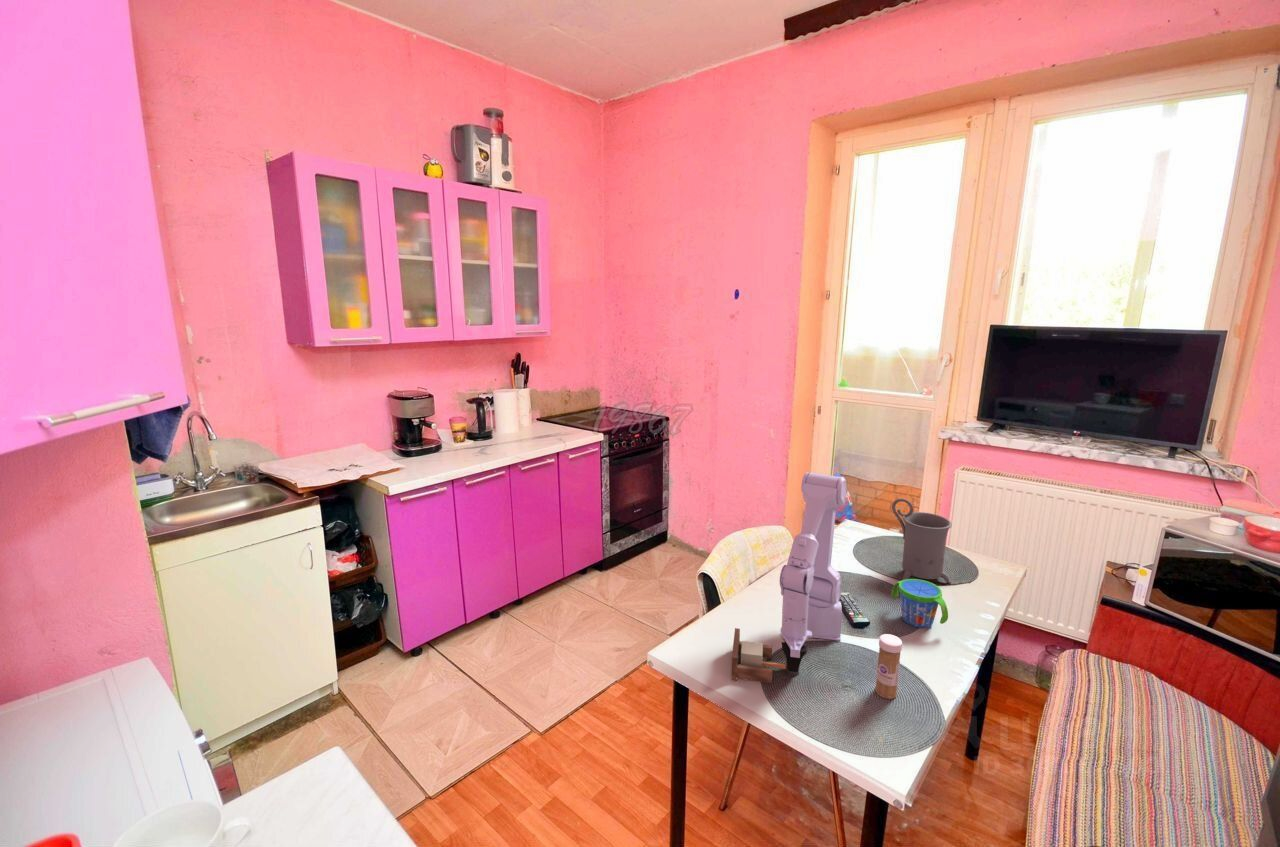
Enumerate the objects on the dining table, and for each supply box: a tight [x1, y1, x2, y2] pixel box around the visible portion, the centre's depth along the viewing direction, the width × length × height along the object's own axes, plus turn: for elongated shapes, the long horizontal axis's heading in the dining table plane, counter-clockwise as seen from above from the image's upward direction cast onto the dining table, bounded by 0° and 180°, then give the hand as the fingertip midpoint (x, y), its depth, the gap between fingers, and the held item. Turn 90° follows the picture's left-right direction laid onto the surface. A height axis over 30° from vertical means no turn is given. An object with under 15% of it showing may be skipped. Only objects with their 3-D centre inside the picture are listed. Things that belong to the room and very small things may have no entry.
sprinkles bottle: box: [874, 633, 903, 700], centre depth 119 cm, size 5×5×13 cm
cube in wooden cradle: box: [730, 627, 773, 684], centre depth 130 cm, size 9×12×6 cm
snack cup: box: [891, 578, 949, 628], centre depth 147 cm, size 16×10×10 cm
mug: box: [891, 498, 953, 585], centre depth 170 cm, size 19×15×25 cm
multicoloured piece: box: [740, 640, 800, 677], centre depth 129 cm, size 14×5×6 cm, turn 77°
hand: (792, 665), depth 128 cm, fingers closed on multicoloured piece, 3 cm apart
